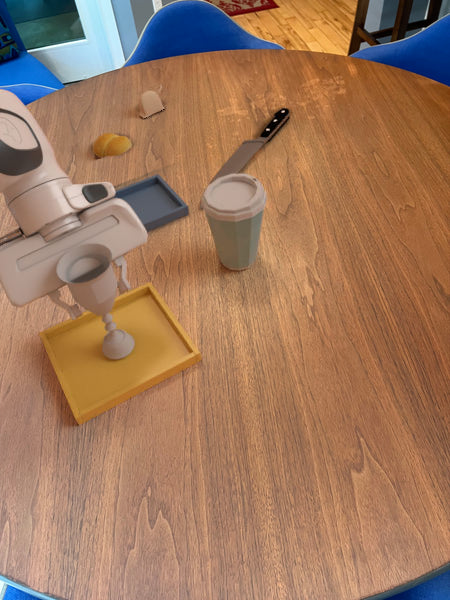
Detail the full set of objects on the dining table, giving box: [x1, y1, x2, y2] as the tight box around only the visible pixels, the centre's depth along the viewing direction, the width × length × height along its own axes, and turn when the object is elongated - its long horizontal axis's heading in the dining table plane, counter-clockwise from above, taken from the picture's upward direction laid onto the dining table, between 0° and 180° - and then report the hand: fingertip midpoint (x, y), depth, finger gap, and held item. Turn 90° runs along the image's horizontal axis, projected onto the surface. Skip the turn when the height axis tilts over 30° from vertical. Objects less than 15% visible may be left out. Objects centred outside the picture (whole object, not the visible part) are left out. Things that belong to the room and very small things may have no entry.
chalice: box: [56, 243, 135, 359], centre depth 67 cm, size 7×7×18 cm
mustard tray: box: [38, 281, 202, 426], centre depth 74 cm, size 20×18×2 cm
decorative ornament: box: [137, 84, 165, 119], centre depth 123 cm, size 4×8×5 cm, turn 129°
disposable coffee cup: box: [200, 173, 268, 272], centre depth 81 cm, size 11×11×15 cm
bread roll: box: [92, 132, 133, 159], centre depth 111 cm, size 8×9×4 cm
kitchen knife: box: [199, 107, 291, 210], centre depth 107 cm, size 5×41×2 cm, turn 150°
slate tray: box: [114, 173, 190, 233], centre depth 97 cm, size 16×14×2 cm
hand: (102, 304), depth 66 cm, fingers closed on chalice, 6 cm apart
